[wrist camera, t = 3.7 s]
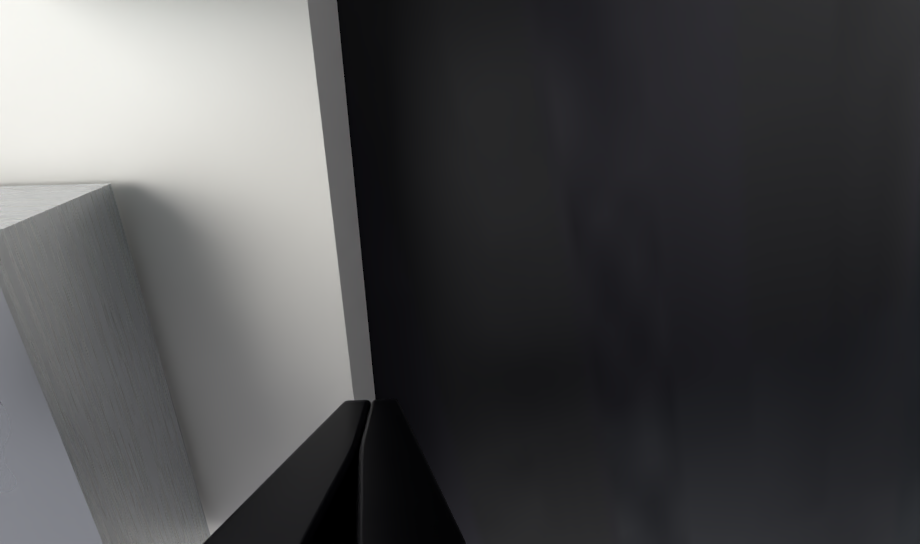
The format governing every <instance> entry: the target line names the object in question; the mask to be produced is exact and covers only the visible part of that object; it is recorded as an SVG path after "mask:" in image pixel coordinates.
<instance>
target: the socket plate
mask: <svg viewBox="0 0 920 544" xmlns="http://www.w3.org/2000/svg"><path fill="white" fill-rule="evenodd" d="M107 183H111V186H112V190H113V193H114V197H115V200H116V204H117V208H118V211H119V215H120V218H121V222H122V225H123V229H124V232H125V236H126V239H127V243H128V246H129V250H130V253H131V257H132V260H133V264H134V267H135V271H136V275H137V278H138V282H139V285H140V289H141V292H142V296H143V299H144V303H145V306H146V310H147V313H148V317H149V320H150V324H151V327H152V331H153V335H154V338H155V342H156V345H157V349H158V352H159V356H160V359H161V363H162V366H163V370H164V373H165V377H166V380H167V384H168V387H169V391H170V394H171V398H172V402H173V405H174V409H175V412H176V416H177V419H178V423H179V426H180V430H181V433H182V437H183V440H184V444H185V447H186V451H187V454H188V458H189V462H190V465H191V469H192V472H193V476H194V479H195V483H196V486H197V490H198V493H199V497H200V500H201V504H202V507H203V511H204V514H205V518H206V521H207V525H208V529H209V532H210V536H211V535H212V534H213V533H214V532H215V531H216V530H217V529H218V528H219V527H220V526H221V525H222V524H223V523H224V522H225V521H226V520H227V519H228V518H229V517H230V516H231V515H232V514H233V513H234V512H235V511H236V510H237V509H238V508H239V507H240V506H241V505H242V504H243V503H244V502H245V501H246V500H247V499H248V498H249V497H250V496H251V495H252V494H253V493H254V492H255V491H256V490H257V488H258V487H259V486H260V485H261V484H262V483H263V482H264V481H265V480H266V479H267V478H268V477H269V476H270V475H271V474H272V473H273V472H274V471H275V470H276V469H277V468H278V467H279V466H280V465H281V464H282V463H283V462H284V461H285V460H286V459H287V458H288V457H289V456H290V455H291V454H292V453H293V452H294V451H295V450H296V449H297V448H298V447H299V446H300V445H301V444H302V443H303V442H304V441H305V440H306V439H307V438H308V437H309V436H310V435H311V434H312V433H313V432H314V431H315V430H316V429H317V428H318V427H319V426H320V425H321V424H322V423H323V422H324V421H325V420H326V419H327V418H328V417H329V416H330V415H331V414H332V413H333V412H334V411H335V410H336V409H337V408H338V407H339V406H340V405H341V404H342V403H343V402H345V401H348V400H369V401H370V402H372V401H373V400H375V390H374V379H373V369H372V359H371V349H370V338H369V328H368V318H367V307H366V297H365V287H364V276H363V266H362V256H361V245H360V235H359V225H358V214H357V204H356V194H355V184H354V173H353V163H352V153H351V142H350V132H349V122H348V111H347V101H346V91H345V80H344V70H343V60H342V49H341V39H340V29H339V18H338V8H337V0H0V186H27V185H67V184H107Z"/></svg>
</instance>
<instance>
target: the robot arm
mask: <svg viewBox="0 0 920 544" xmlns="http://www.w3.org/2000/svg"><path fill="white" fill-rule="evenodd" d="M203 544H466V542H465V540H464V538H463V536H462V534H461V532H460V530H459V527H458V525H457V523H456V521H455V519H454V517H453V515H452V513H451V511H450V509H449V507H448V504H447V502H446V500H445V498H444V496H443V494H442V492H441V490H440V488H439V486H438V484H437V481H436V479H435V477H434V475H433V473H432V471H431V469H430V467H429V465H428V463H427V461H426V458H425V456H424V454H423V452H422V450H421V448H420V446H419V444H418V442H417V440H416V438H415V435H414V433H413V431H412V429H411V427H410V425H409V423H408V421H407V419H406V417H405V415H404V412H403V410H402V408H401V406H400V404H399V402H398V401H397V400H396V399H376V400H373V401H372V402H370V401H369V400H348V401H345V402H343V403H342V404H341V405H340V406H339V407H338V408H337V409H336V410H335V411H334V412H333V413H332V414H331V415H330V416H329V417H328V418H327V419H326V420H325V421H324V422H323V423H322V424H321V425H320V426H319V427H318V428H317V429H316V430H315V431H314V432H313V433H312V434H311V435H310V436H309V437H308V438H307V439H306V440H305V441H304V442H303V443H302V444H301V445H300V446H299V447H298V448H297V449H296V450H295V451H294V452H293V453H292V454H291V455H290V456H289V457H288V458H287V459H286V460H285V461H284V462H283V463H282V464H281V465H280V466H279V467H278V468H277V469H276V470H275V471H274V472H273V473H272V474H271V475H270V476H269V477H268V478H267V479H266V480H265V481H264V482H263V483H262V484H261V485H260V486H259V487H258V488H257V490H256V491H255V492H254V493H253V494H252V495H251V496H250V497H249V498H248V499H247V500H246V501H245V502H244V503H243V504H242V505H241V506H240V507H239V508H238V509H237V510H236V511H235V512H234V513H233V514H232V515H231V516H230V517H229V518H228V519H227V520H226V521H225V522H224V523H223V524H222V525H221V526H220V527H219V528H218V529H217V530H216V531H215V532H214V533H213V534H212V535H211V536H210V537H209V538H208V539H207V540H206V541H205V542H204V543H203Z"/></svg>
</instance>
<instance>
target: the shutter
mask: <svg viewBox="0 0 920 544" xmlns="http://www.w3.org/2000/svg"><path fill="white" fill-rule="evenodd" d="M209 537H210V532H209V529H208V525H207V521H206V518H205V514H204V511H203V507H202V504H201V500H200V497H199V493H198V490H197V486H196V483H195V479H194V476H193V472H192V469H191V465H190V462H189V458H188V454H187V451H186V447H185V444H184V440H183V437H182V433H181V430H180V426H179V423H178V419H177V416H176V412H175V409H174V405H173V402H172V398H171V394H170V391H169V387H168V384H167V380H166V377H165V373H164V370H163V366H162V363H161V359H160V356H159V352H158V349H157V345H156V342H155V338H154V335H153V331H152V327H151V324H150V320H149V317H148V313H147V310H146V306H145V303H144V299H143V296H142V292H141V289H140V285H139V282H138V278H137V275H136V271H135V267H134V264H133V260H132V257H131V253H130V250H129V246H128V243H127V239H126V236H125V232H124V229H123V225H122V222H121V218H120V215H119V211H118V208H117V204H116V200H115V197H114V193H113V190H112V186H111V183H107V184H67V185H27V186H0V544H203V543H204V542H205V541H206V540H207V539H208V538H209Z"/></svg>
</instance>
